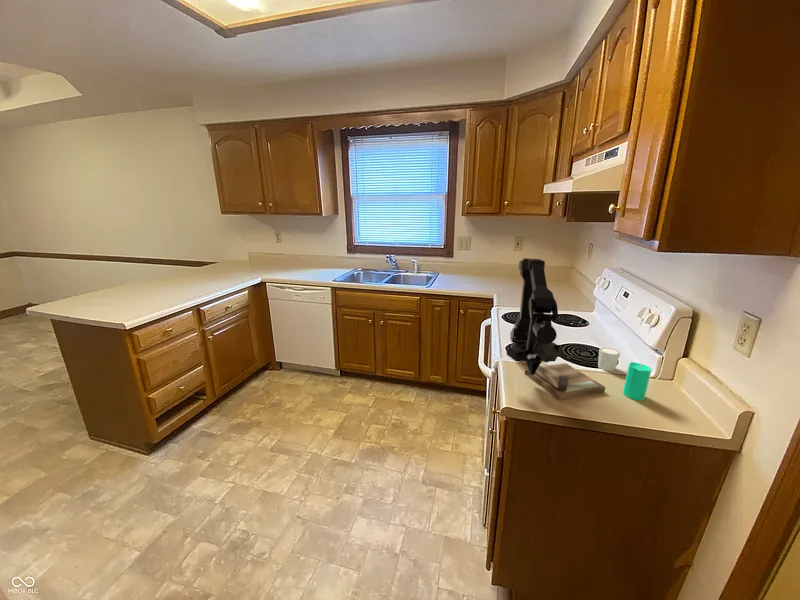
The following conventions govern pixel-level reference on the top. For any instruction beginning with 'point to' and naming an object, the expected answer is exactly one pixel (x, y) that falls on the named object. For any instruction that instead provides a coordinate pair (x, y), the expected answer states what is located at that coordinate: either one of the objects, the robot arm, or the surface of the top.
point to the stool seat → (569, 383)
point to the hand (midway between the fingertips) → (531, 374)
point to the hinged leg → (552, 376)
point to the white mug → (608, 359)
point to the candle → (636, 381)
